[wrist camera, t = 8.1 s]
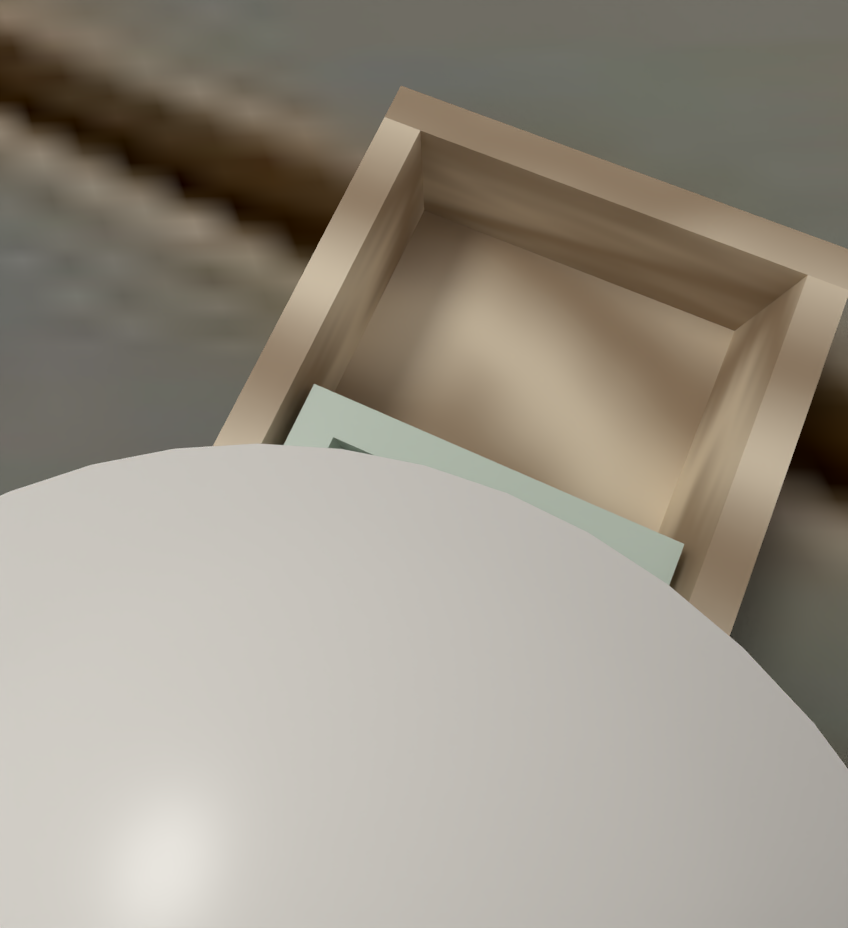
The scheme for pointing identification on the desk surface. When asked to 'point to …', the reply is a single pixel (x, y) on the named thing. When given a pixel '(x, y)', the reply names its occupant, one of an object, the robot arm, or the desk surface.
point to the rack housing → (564, 330)
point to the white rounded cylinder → (380, 714)
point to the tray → (472, 473)
